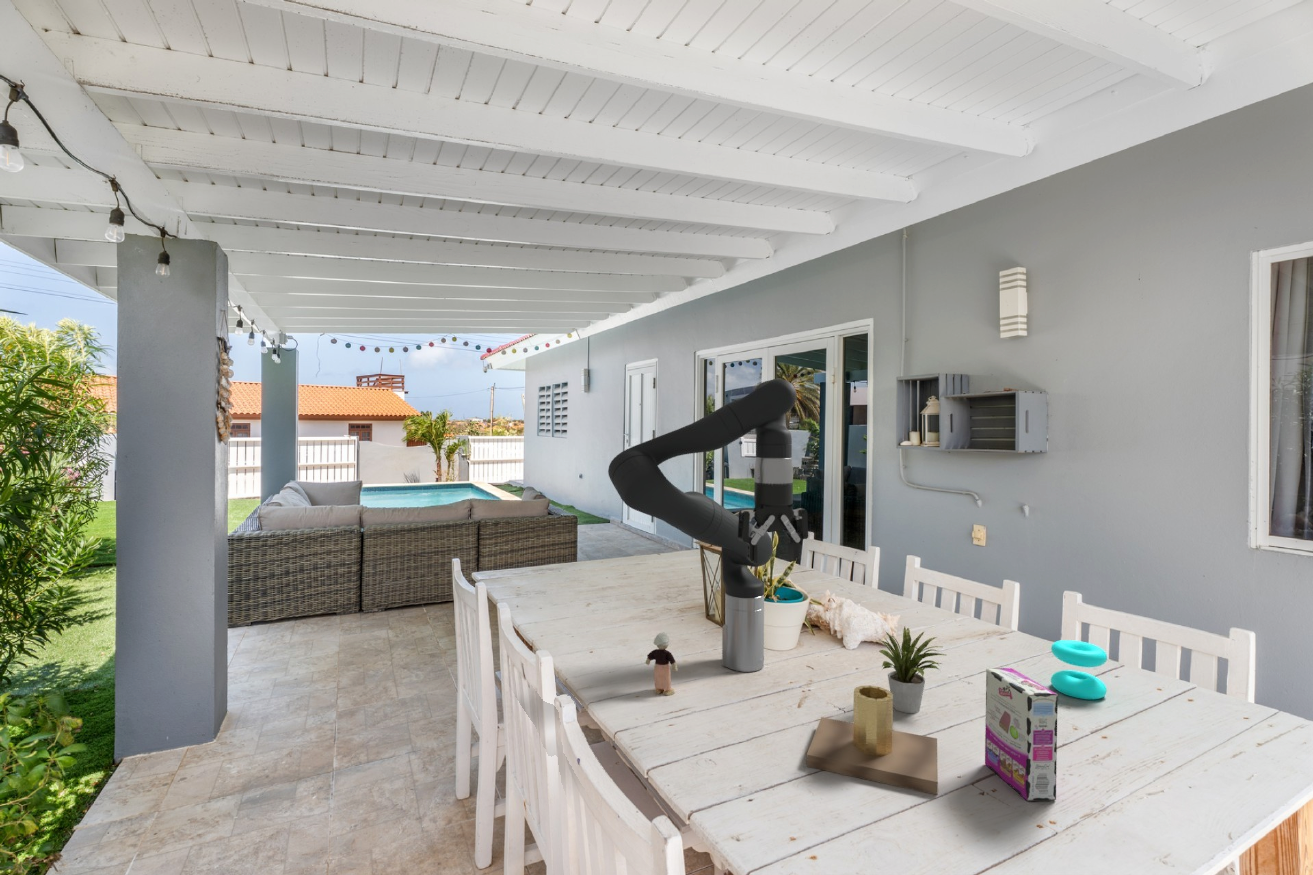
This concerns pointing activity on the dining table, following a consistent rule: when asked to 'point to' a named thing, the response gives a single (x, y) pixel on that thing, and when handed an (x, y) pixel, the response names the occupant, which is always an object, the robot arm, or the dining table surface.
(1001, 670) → the candy bar box
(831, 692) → the dining table surface
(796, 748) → the dining table surface
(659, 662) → the grandmother figurine
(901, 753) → the post plate
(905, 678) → the house plant
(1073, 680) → the donuts
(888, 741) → the brass sleeve
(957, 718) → the dining table surface
